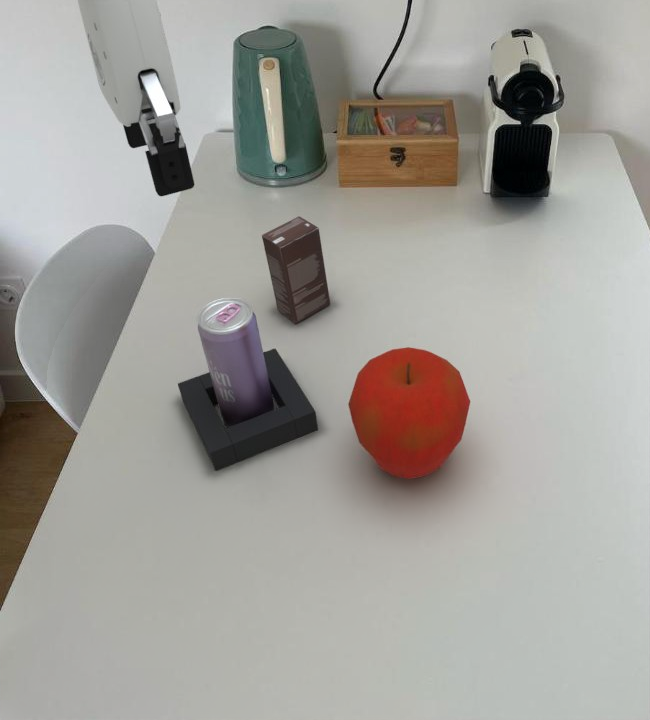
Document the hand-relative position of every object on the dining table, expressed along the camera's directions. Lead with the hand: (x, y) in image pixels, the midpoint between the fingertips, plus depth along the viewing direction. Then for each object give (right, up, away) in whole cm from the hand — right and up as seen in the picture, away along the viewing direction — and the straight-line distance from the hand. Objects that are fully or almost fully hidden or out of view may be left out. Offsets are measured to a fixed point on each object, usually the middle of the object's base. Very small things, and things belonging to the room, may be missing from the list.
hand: (160, 166), depth 72 cm
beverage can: (+4, -24, +21) cm, 32 cm away
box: (+8, -10, +35) cm, 38 cm away
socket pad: (+4, -24, +21) cm, 32 cm away
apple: (+22, -28, +15) cm, 39 cm away
